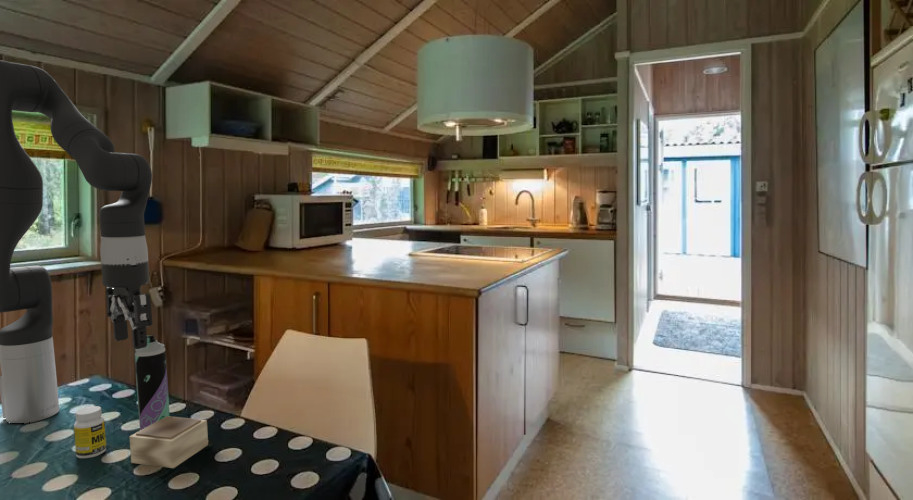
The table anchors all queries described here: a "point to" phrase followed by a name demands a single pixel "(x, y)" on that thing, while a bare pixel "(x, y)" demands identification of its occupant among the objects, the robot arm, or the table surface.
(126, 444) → the table surface
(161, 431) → the base block
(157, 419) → the spray can
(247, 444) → the table surface
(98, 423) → the supplement bottle
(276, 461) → the table surface
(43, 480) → the table surface
